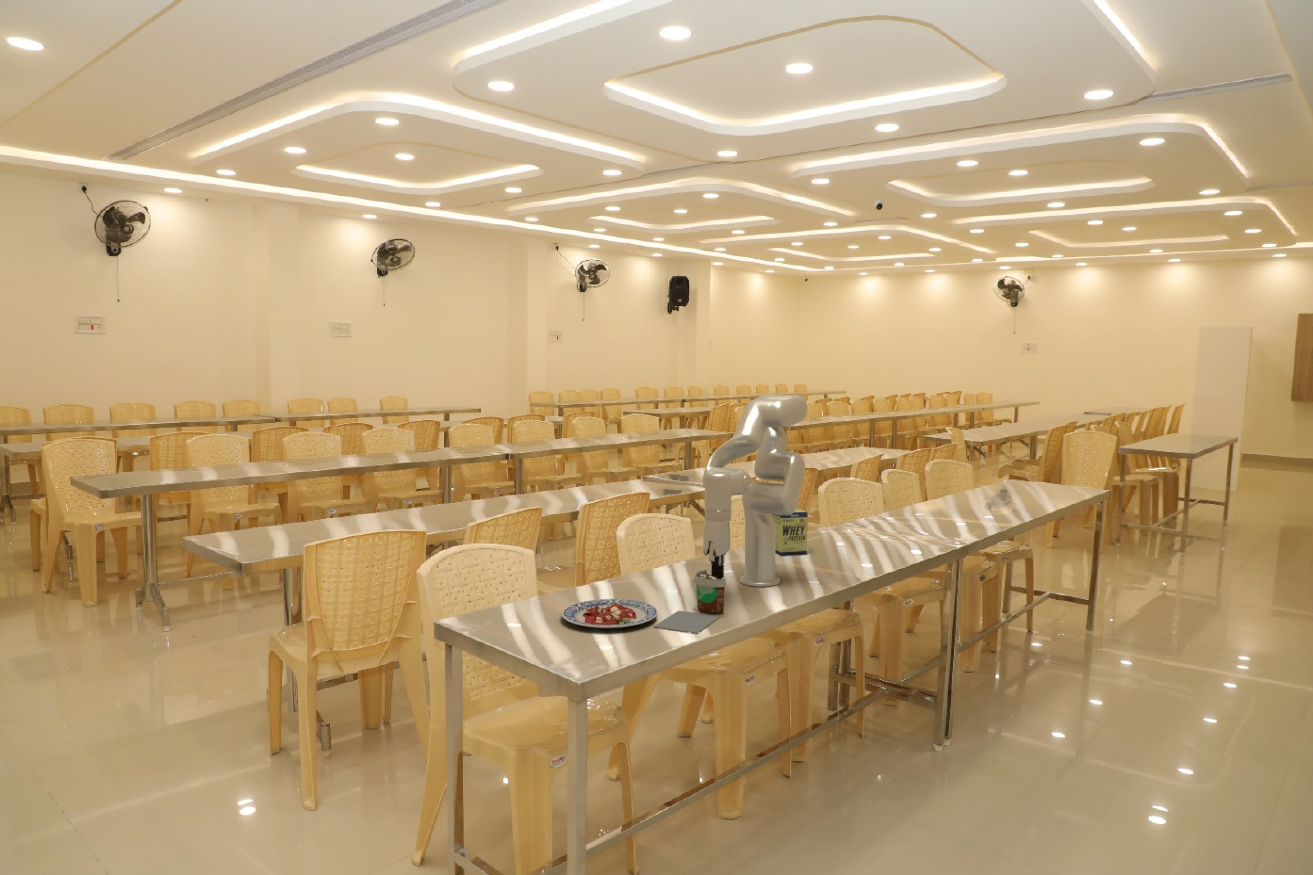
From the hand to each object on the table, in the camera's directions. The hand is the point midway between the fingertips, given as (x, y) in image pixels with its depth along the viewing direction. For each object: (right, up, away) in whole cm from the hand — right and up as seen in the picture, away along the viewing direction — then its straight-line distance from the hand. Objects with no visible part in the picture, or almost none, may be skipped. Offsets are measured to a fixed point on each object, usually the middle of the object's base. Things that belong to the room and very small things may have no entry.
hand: (717, 578), depth 245 cm
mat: (-9, -9, -18) cm, 22 cm away
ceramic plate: (-30, -9, -15) cm, 35 cm away
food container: (-4, -8, -7) cm, 12 cm away
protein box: (+30, -2, +68) cm, 75 cm away
